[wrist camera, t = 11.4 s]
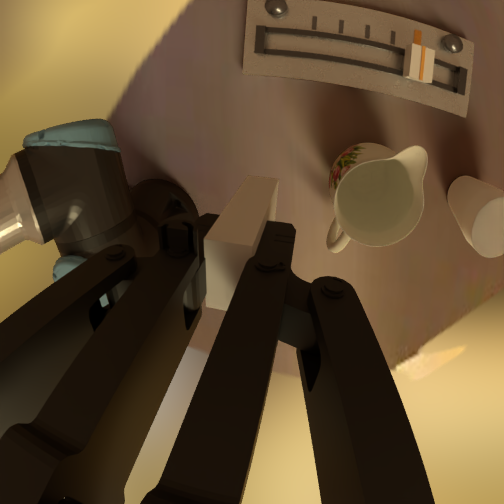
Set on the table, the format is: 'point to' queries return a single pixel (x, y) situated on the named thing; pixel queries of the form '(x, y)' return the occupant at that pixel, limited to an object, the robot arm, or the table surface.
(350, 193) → the pitcher
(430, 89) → the console
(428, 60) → the fader
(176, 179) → the table surface
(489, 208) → the cup
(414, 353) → the table surface
